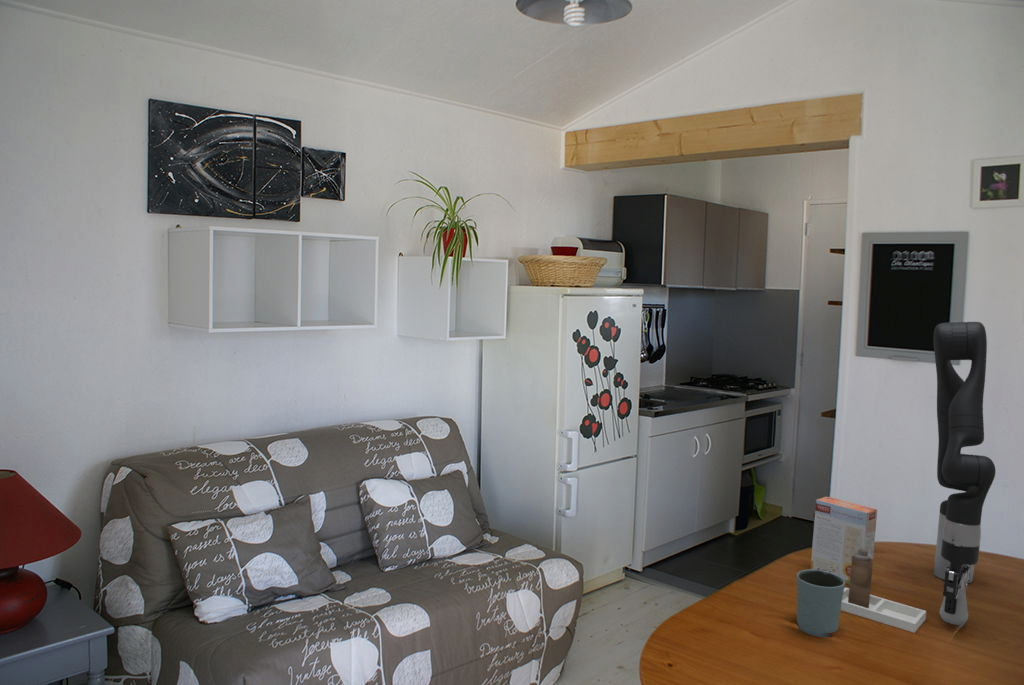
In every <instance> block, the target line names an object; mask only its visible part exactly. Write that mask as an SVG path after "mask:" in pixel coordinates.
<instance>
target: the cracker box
mask: <svg viewBox="0 0 1024 685" xmlns="http://www.w3.org/2000/svg"><path fill="white" fill-rule="evenodd" d="M814 509H815V511H814V521H813V534H812V544H811V545H812V546H811V561H810V569H815V570H823V571H827V572H831V573H834V574H836V575H838V576H840V577H841V578H843V579H844V581H845V585H848V586H850V574H851V563H852V556H853V555H855V552H858V550H859V548H861V547H864V548H866V549H867V550H868V554H870V555H871V558H872V559H873V560H874V553H875V552H874V551H875V539H876V530H877V529H876V528H877V519H878V518H877V516H878V509H876V508H874V507H869V506H866V505H862V504H858V503H853V502H850V501H846V500H842V499H838V498H835V497H834V498H833V497H830V496H823V497H821V498H817V499H815V508H814Z"/></svg>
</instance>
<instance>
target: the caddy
mask: <svg viewBox="0 0 1024 685" xmlns="http://www.w3.org/2000/svg"><path fill="white" fill-rule="evenodd" d="M848 597H849V587H844V592H843V596H842V603H841V610H840V611H843V612H846V613H848V614H853V615H855V616H859V617H862V618H865V619H867V620H868V619H869V620H872V621H875V622H877V623H882V624H885V625H887V626H891V627H894V628H898V629H901V630H905V631H907V632H911V633H913V634H914V633H916V632H917V631H918V630H919V628H920V627H921V626H922V625H923V624H924V622H926V620H927V619H926V618H927V610H924V609H921V608H918V607H914V606H910V605H907V604H904V603H901V602H897V601H895V600H894V601H893V600H890V599H886V598H884V597H880V596H876V595H873V594H870V601H869V609H868V608H865V607H862V606H858V605H855V604H852V603H848Z"/></svg>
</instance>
